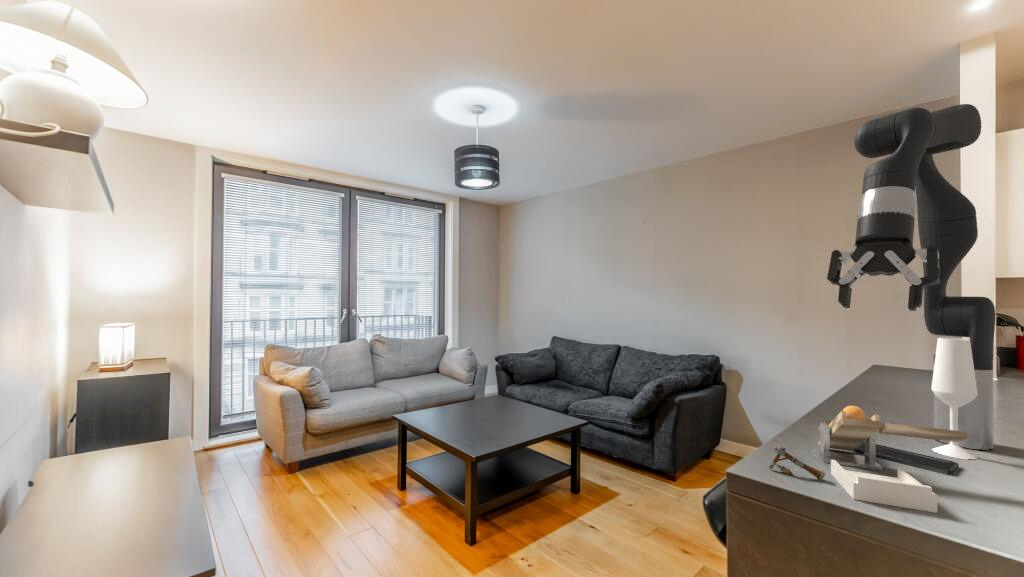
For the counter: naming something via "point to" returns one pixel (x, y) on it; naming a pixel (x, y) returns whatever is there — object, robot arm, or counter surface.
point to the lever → (880, 431)
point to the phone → (912, 459)
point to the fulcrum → (848, 459)
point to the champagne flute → (954, 385)
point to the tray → (886, 489)
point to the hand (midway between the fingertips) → (877, 308)
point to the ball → (854, 412)
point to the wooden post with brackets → (797, 462)
